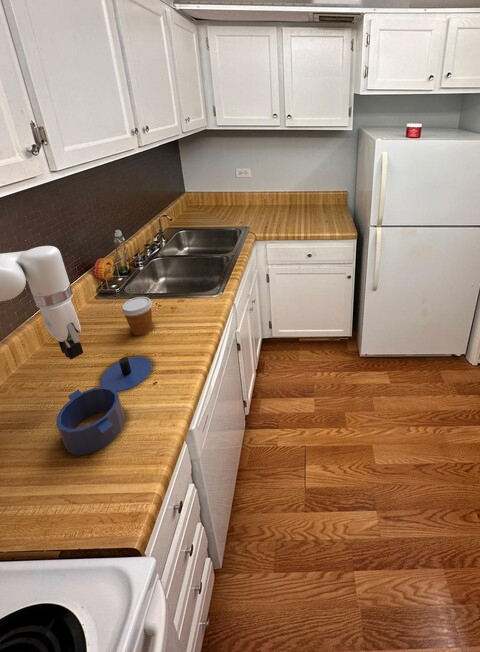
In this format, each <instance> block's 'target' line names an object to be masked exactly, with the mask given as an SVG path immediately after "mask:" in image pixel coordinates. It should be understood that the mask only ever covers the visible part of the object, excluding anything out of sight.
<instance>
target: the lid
mask: <svg viewBox="0 0 480 652" xmlns="http://www.w3.org/2000/svg"><path fill="white" fill-rule="evenodd" d="M152 368H153V365H152V362H151V360H150V359H149V358H147V357H143V356H132V357H131V356H130V357H127V356H123V357H121V358H120V359H119V360H118V362H116V363H113V365H111V366H110V367H108V369H106V370H105V372H104V373H103V374H102V377H101V378H100V386H101V387H110V388H113V389H114V390H116V391H117V392H118V393H119V392H123V391H127V390H129V389H132V388H134V387H136V386H138V385H139V384H141V383H142V382H143V381H144V380H146V379H147V378H148V377H149V375H150V374H151V372H152Z"/></svg>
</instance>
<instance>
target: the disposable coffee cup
mask: <svg viewBox="0 0 480 652" xmlns="http://www.w3.org/2000/svg"><path fill="white" fill-rule="evenodd" d="M152 307H153V301H152V300H151V299H150V298H149V297H147V296H136V297H133V298H130V299H128V300H127V301H125V302H124V303H123V305H122V308H121V313H122V314H123V315H124V317H125V319H126V322H127V324H128V326H129V329H130V331H131V333H132V334H133V335H134V336H144V335H146V334H148V333H150V332H151V331H152V329H153V314H152V313H153V312H152Z"/></svg>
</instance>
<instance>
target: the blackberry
mask: <svg viewBox="0 0 480 652" xmlns="http://www.w3.org/2000/svg"><path fill="white" fill-rule="evenodd" d="M70 340H72V338H69V339H68V341H70ZM62 347H63V350H64V353H63V354H64V356H65V357H66V358H69V357H68V354H67V351H66V348H65V347H67V346H66V343H65V341H64V343H63V345H62Z"/></svg>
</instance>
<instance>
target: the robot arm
mask: <svg viewBox="0 0 480 652" xmlns="http://www.w3.org/2000/svg"><path fill="white" fill-rule="evenodd" d="M26 284H28V287H29V289H30V292H31V295H32V297H33V300H34V303H35V306H36V307H37V308H39V311H40V314H41V319H42V321H43V325H44V328H45V331H46V332H47V333H49V334H50V335H51V336H52V337H53V338H54V339H55V340H56V341H57V342H58V345H59V348H60V351H61V353H62V354H65V353H64V350H63V347H62V345H63V343H64V341H65V343H66V346H67V347H65V348H66V351H67V354H68V357H67V358H68V359H69V360H70V361H71V360H73V359H75V358H77V357H79V356H81V355H83V354H84V350H83V346H82V343H81V338H80V336H79V334H81V333H82V328H81V327H82V326H81V324H80V321H79V320H80V319H79V317H78V315H77V312H76V309H75V306H74V304H73V302H72V299H73V297H74V292H73V289H72V285H71V283H70V279H69V275H68V274H67V270H66V267H65V263H64V260H63V257H62V253H61V250H59V248H58V247H56V246H53V245H42V246H36V247H32V248H30V249H28V250H21V251H14V252H3V253H0V302H6V301H9V300H10V301H11V300H13V299H15V298H16V297H18V296H20V295H21V294H22V292H23V291H24V290H25V288H26ZM69 338H72V340H70V341H68V339H69Z"/></svg>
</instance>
